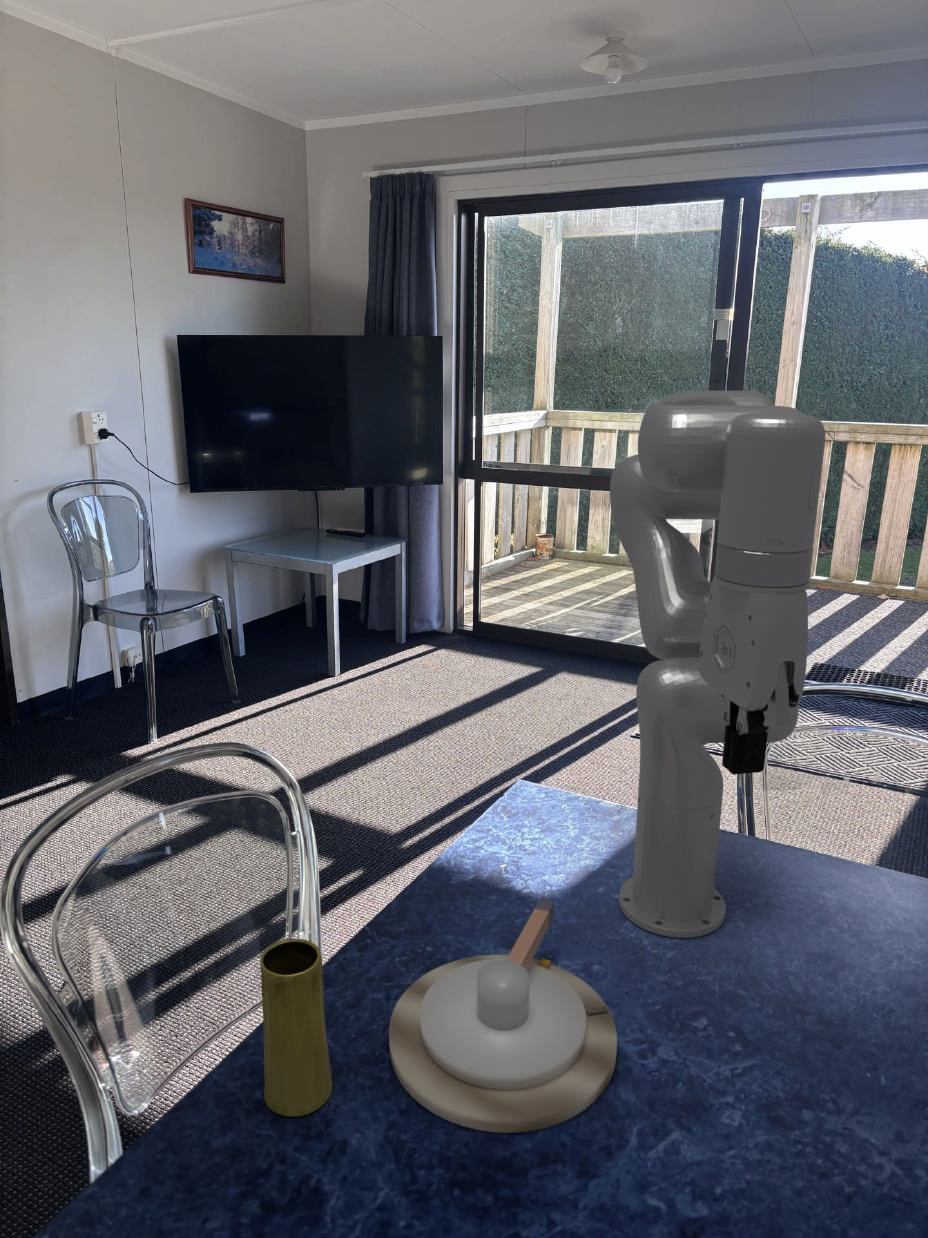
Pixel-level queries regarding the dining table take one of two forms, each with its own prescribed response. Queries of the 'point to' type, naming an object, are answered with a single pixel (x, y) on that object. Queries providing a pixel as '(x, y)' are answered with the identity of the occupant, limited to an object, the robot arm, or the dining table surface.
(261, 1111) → the dining table surface
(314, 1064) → the vase
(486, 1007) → the dial
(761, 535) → the robot arm
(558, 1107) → the dial base
